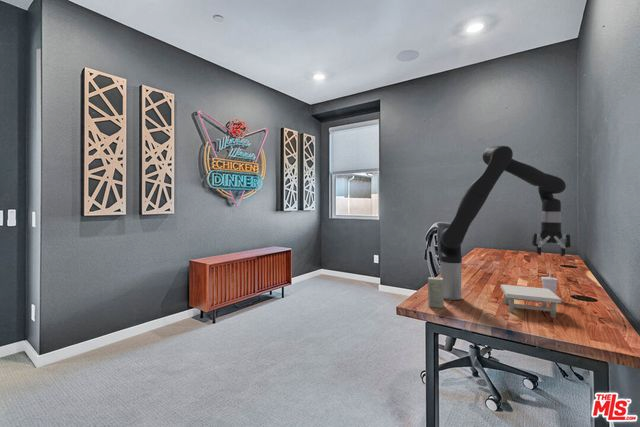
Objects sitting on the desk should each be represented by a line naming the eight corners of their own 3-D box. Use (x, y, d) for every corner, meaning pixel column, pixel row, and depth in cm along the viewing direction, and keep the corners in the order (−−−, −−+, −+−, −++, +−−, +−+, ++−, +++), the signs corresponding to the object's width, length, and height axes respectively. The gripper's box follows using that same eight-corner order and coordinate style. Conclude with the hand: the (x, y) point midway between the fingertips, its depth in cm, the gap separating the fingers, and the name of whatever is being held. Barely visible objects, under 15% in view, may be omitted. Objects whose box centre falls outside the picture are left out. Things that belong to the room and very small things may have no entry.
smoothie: (543, 299, 142) (543, 270, 141) (539, 295, 148) (539, 267, 147) (559, 301, 139) (560, 271, 139) (555, 297, 145) (555, 268, 145)
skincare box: (443, 305, 133) (444, 277, 133) (443, 308, 129) (443, 280, 129) (428, 303, 136) (428, 276, 135) (427, 306, 132) (427, 278, 131)
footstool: (506, 313, 124) (506, 293, 123) (500, 301, 138) (500, 284, 138) (560, 319, 116) (561, 299, 116) (548, 307, 131) (548, 288, 131)
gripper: (534, 221, 142) (534, 255, 142) (572, 222, 136) (572, 257, 136) (531, 220, 148) (530, 253, 149) (567, 221, 143) (566, 255, 143)
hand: (550, 255), depth 143 cm, fingers open, 8 cm apart
